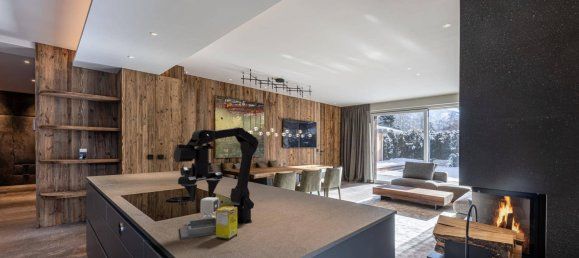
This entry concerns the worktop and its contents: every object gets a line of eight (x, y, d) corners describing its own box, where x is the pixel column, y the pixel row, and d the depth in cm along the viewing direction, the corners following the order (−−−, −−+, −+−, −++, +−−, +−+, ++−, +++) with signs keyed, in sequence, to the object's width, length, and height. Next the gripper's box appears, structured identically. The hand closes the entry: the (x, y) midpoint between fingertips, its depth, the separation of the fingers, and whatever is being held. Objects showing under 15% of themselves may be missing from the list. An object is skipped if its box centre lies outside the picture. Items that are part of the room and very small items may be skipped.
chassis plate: (222, 222, 119) (222, 216, 119) (229, 232, 106) (229, 225, 106) (179, 228, 112) (180, 221, 112) (181, 239, 99) (181, 231, 99)
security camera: (212, 222, 120) (212, 200, 121) (198, 221, 122) (198, 199, 122) (218, 218, 127) (219, 197, 127) (205, 217, 128) (205, 196, 129)
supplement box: (237, 235, 103) (237, 206, 103) (229, 240, 97) (229, 210, 98) (224, 233, 105) (224, 205, 105) (215, 238, 99) (215, 209, 100)
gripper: (204, 158, 119) (204, 193, 118) (168, 162, 102) (168, 202, 101) (223, 159, 113) (223, 195, 113) (188, 162, 97) (188, 205, 96)
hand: (201, 199), depth 106 cm, fingers open, 9 cm apart
